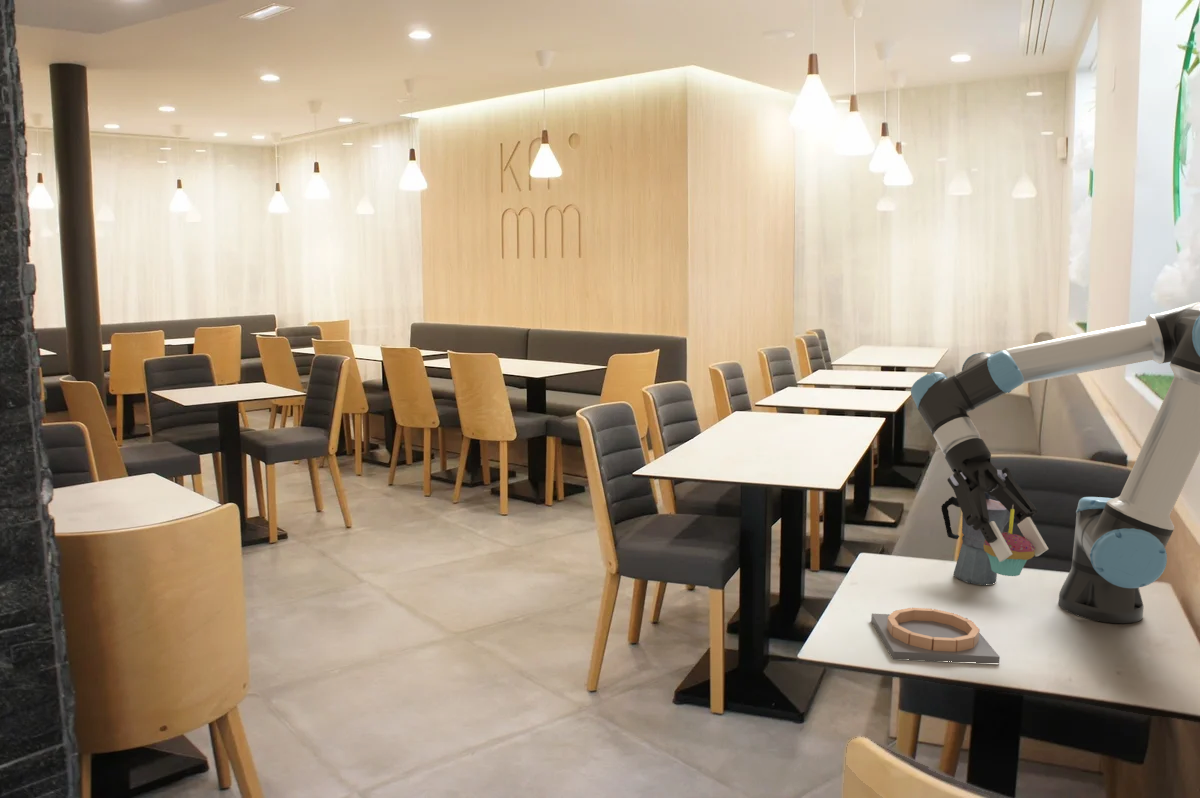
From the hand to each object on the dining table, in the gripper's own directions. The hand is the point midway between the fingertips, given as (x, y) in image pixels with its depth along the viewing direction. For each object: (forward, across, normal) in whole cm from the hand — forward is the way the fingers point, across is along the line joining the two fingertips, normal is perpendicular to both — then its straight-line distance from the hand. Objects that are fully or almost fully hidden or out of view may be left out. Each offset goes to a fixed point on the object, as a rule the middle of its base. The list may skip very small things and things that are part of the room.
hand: (1024, 555), depth 166 cm
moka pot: (-10, -25, -36) cm, 45 cm away
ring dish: (+6, +10, -20) cm, 23 cm away
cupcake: (+1, 0, -6) cm, 6 cm away
